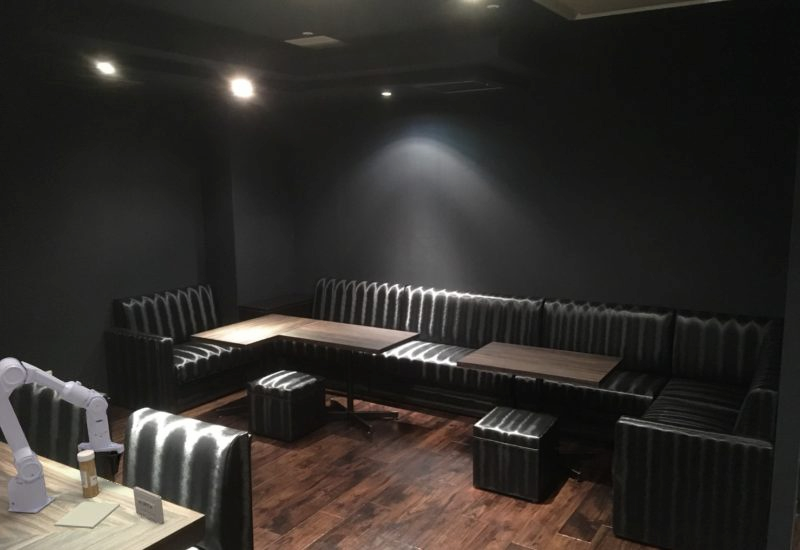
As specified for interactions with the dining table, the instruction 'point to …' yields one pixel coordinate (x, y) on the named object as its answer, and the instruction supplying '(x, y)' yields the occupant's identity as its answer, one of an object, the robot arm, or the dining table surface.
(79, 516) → the sage mat
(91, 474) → the sprinkles bottle
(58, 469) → the dining table surface
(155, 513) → the cassette
